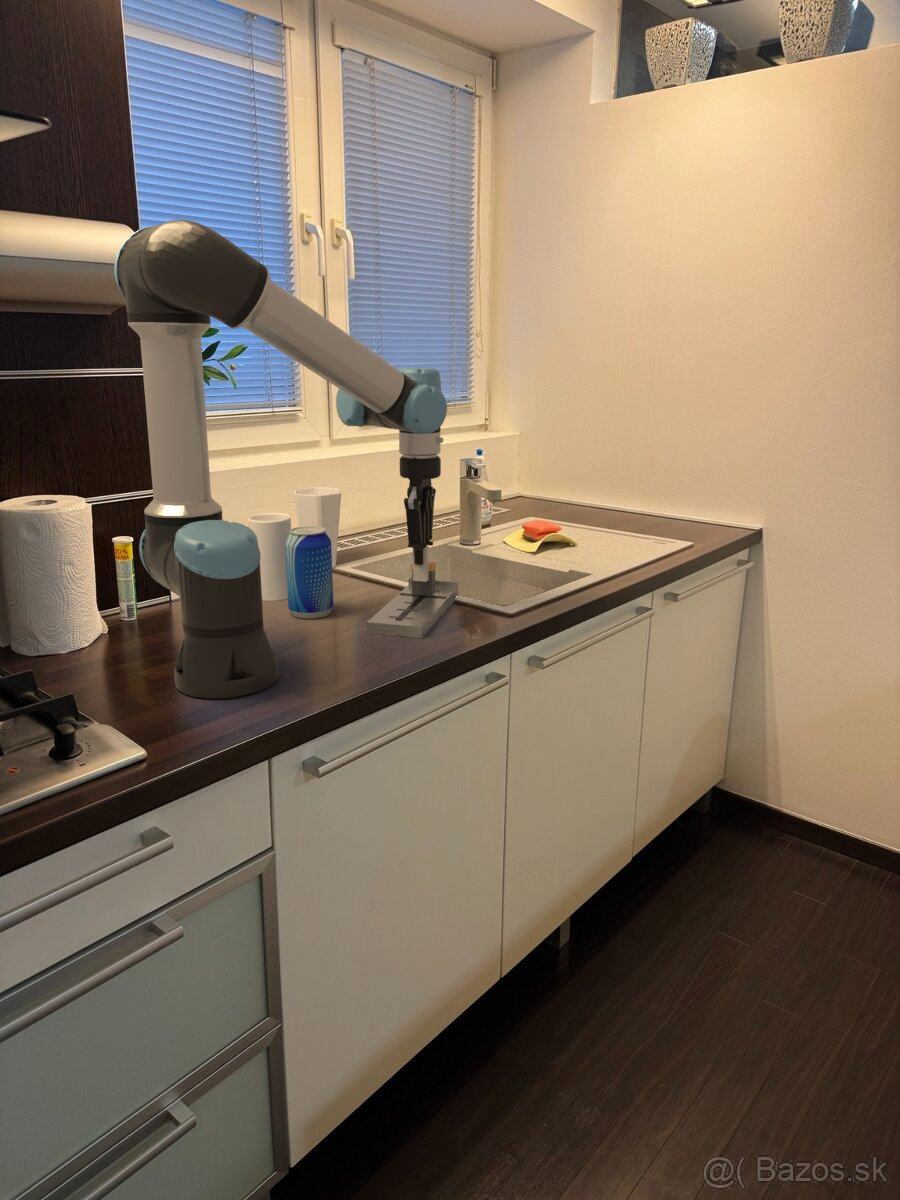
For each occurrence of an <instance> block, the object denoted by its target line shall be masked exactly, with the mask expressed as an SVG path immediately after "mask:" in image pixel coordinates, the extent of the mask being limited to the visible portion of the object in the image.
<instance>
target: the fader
mask: <svg viewBox="0 0 900 1200" xmlns="http://www.w3.org/2000/svg"><path fill="white" fill-rule="evenodd" d="M410 566H411V567H410V568H411V578H412V595H422V596H433V595H434V594H435V579H436V568H437V562H436V561H430V560H429V580H428V581H427V582H425V581H413V561H412V562H411V563H410Z"/></svg>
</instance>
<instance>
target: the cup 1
mask: <svg viewBox="0 0 900 1200" xmlns="http://www.w3.org/2000/svg"><path fill="white" fill-rule="evenodd" d="M291 520H292V519H291V515H290V514H287V513H280V512H263V513H256V514H255V513H254V514H251V515H249V516H248V517H247V524H248V526H247V527H249V528H250V529H251V530H252V531H253V532H254V533H255V535H256V537H257V540H258V547H259V551H260V557H261V559H260V572H261V591H262V602H263V601H265V602H273V601H274V602H277V601H278V602H279V601H284V600H288V594H287V574H286V555H285V541H286V540H287V538H288V536H289V534H290V532H289V531H290V529H292V521H291Z"/></svg>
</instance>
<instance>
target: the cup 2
mask: <svg viewBox="0 0 900 1200" xmlns="http://www.w3.org/2000/svg"><path fill="white" fill-rule="evenodd" d="M293 493H294V500H295V501H294V502H295V508H296V512H297V513H296V514H297V519H298V520H297V521H298V527H303V526H317V527H322V528H325V529H326V531H325V532H326V534H327V535H328V537H329V538H330V540H331V550H332V569H333V568H336V567H335V566H337V557H338V555H337V553H338V542H339V540H338V539H339V526H340V514H341V502H342V501H341V500H342V492H341V489H340V488H337V487H336V488H335V487H326V486H325V487H324V486H323V487H322V486H313V487H306V488H305V487H304V488H297V489H294V490H293Z"/></svg>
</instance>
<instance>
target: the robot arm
mask: <svg viewBox="0 0 900 1200" xmlns="http://www.w3.org/2000/svg"><path fill="white" fill-rule="evenodd" d="M113 271H114V279H115V281H116V284H117V287H118V289H119V291H120V294H121V295H122V296H123V298H124V300H125V304H126V314H127V325H128V326H129V327H130V328H131V329H132V330H133V331H134V332H135V333H136V335H138V337H139V338H140V351H141V352H140V353H141V361H142V362H141V363H142V374H143V375H142V376H143V377H142V378H143V386H144V387H143V388H144V397H145V398H144V401H145V411H146V423H147V436H148V446H149V447H148V449H149V459H150V471H151V481H152V482H151V484H152V495H153V499H152V500H151V502H150V503H149V504H148V505H147V506H146V507H145V508H144V512H143V513H144V523H145V528H144V530H143V532H142V534H141V536H140V540H139V548H138V550H139V557H140V560H141V562H142V565H143V567H144V568H145V570H146V572H147V573H148V574H149V575H150V577H151V578H152V579H153V580H154V581H155V582H156V583H158V584H160V585H161V586H162V587H163V588H164V589H168V590H170V591H171V592H173V593H174V594H175V595H177V596H178V597H179V601H180V612H181V613H180V614H181V625H182V639H181V642H180V646H179V650H178V654H177V657H176V662H175V666H174V669H173V670H174V672H173V673H174V675H173V676H174V684H175V687H176V689H177V690H178V691H179V692H180V693H182V694H184V695H186V696H191V697H194V698H199V699H200V698H202V699H230V698H237V697H243V696H247V695H252V694H255V693H258V692H261V691H263V690H265V689H268V688H269V687H270V686H273V685H274V684H275V683H276V682H277V680H278V678H279V669H278V667H279V664H278V660H277V657H276V656H275V653H274V650H273V648H272V645H271V643H270V640H269V638H268V635H267V633H266V631H265V628H264V627H265V626H264V614H263V613H264V612H263V600H262V591H261V572H260V559H261V557H260V551H259V547H258V540H257V537H256V535H255V533H254V532H253V531H252V530H251V529H250V528H249V527H248V526H247V525H245V524H242V523H239V522H234V521H231V522H229V521H228V520H223V507H222V506H221V505H220V504H219V503H218V502H217V501H216V500H215V499H213V497H212V492H211V491H212V489H211V488H212V487H211V475H210V474H211V473H210V460H209V457H210V456H209V445H208V443H209V442H208V427H207V414H206V413H207V412H206V398H205V382H204V365H203V353H202V351H203V350H202V337H203V335H204V334H205V333H206V332H207V331H208V330H209V329H210V328H211V326H212V325H211V318H213V319H215V320H217V321H218V322H220V323H223V324H224V325H225V326H227V327H229V328H230V329H232V330H235V329H240V328H244V329H246V330H247V331H248V332H250V333H252V334H253V335H255V336H256V337H257V338H260V339H261V340H263V341H264V342H266V343H267V344H269V345H270V346H272V347H273V348H275V349H277V351H280V352H281V353H282V354H285V355H286V356H288V357H289V358H291V359H292V360H294V361H296V362H297V363H298V364H300V365H302V366H304V367H305V368H306V369H308V370H309V371H311V372H313V374H315V375H317V376H319V377H320V378H322V379H323V380H324V381H326V382H328V383H330V384H331V385H333V386H335V388H337V392H336V397H335V405H336V406H335V408H336V412H337V413H336V414H337V416H338V418H339V420H340V422H341V423H343V425H345V426H348V427H359V428H362V427H371V426H372V427H373V426H374V427H377V428H378V427H379V428H385V429H392V430H398V431H399V432H398V434H399V435H398V447H399V448H398V452H399V454H401V456H400V458H399V476H400V477H401V478H403V479H408V480H409V483H408V488H407V490H406V493H407V496H406V497H405V498H404V499H403V503H404V504H403V505H404V509H405V517H406V527H407V538H408V539H407V540H408V544H407V547H408V548H410V549H411V548H412V562H413V581H425V582H427V581H428V580H429V561H430V559H429V558H430V556H429V553H430V552H429V551H430V550H429V549H430V548H429V547H430V546H431V547H432V546H433V545H434V541H432V539H433V529H434V527H433V526H434V512H435V511H434V510H435V509H434V508H435V498H436V493H437V489H436V488H435V487H434V486H433V485H432V480H434V479H437V478H439V477H440V476H441V475H442V473H441V471H442V468H441V467H442V466H441V465H442V463H441V461H442V458H441V457H440V454H441V444H442V443H444V437H441V426H442V425H443V424H444V422H445V420H446V417H447V413H448V404H447V403H448V402H447V400H446V397H445V395H444V393H443V392H442V385H441V384H442V382H441V374H440V372H439V370H438V369H436V368H434V367H402V368H399V369H397V368H396V367H395V366H394V365H392V364H391V363H390V362H388V361H386V360H385V358H384V359H383V358H382V357H381V356H380V355H378V354H376V353H375V352H374V351H372V350H371V349H369V347H367V346H365V345H364V344H363V343H361V342H360V341H358V340H357V339H356V338H354V337H353V336H351V335H350V334H348V333H347V332H345V331H344V330H342V329H341V328H340V327H338V326H337V325H336V324H334V323H333V322H332V321H330V320H328V319H327V318H326V317H324V316H323V315H321V314H320V313H319V312H317V311H316V310H314V309H313V308H312V307H310V306H308V304H306V303H305V302H303V301H302V300H300V298H298V297H296V296H295V295H293V294H292V293H290V292H289V291H287V290H286V289H285V288H283V287H282V286H281V285H279V284H278V283H277V282H275V281H273V280H272V279H271V274H270V271H269V268H268V267H267V266H265V265H264V264H262V263H261V262H260V261H258V260H257V259H255V258H254V257H253V256H251V255H250V254H248V253H247V252H246V251H245V250H243V249H242V248H241V247H239V246H237V245H236V244H235V243H234V242H232V241H230V240H229V239H227V238H226V237H224V236H223V235H221V234H220V233H218V232H217V231H215V230H214V229H211V228H210V227H208V226H206V225H204V224H203V223H199V222H197V221H196V222H195V221H192V220H189V219H174V220H169V221H166V222H163V223H160V224H155V225H152V226H151V225H149V226H145V227H143V228H140V229H138V230H137V231H135V232H133V233H132V234H131V235H130V236H128V237H127V238H126V240H124V242H123V243H122V244H121V246H120V247H119V249H118V251H117V252H116V256H115V261H114V269H113Z"/></svg>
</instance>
